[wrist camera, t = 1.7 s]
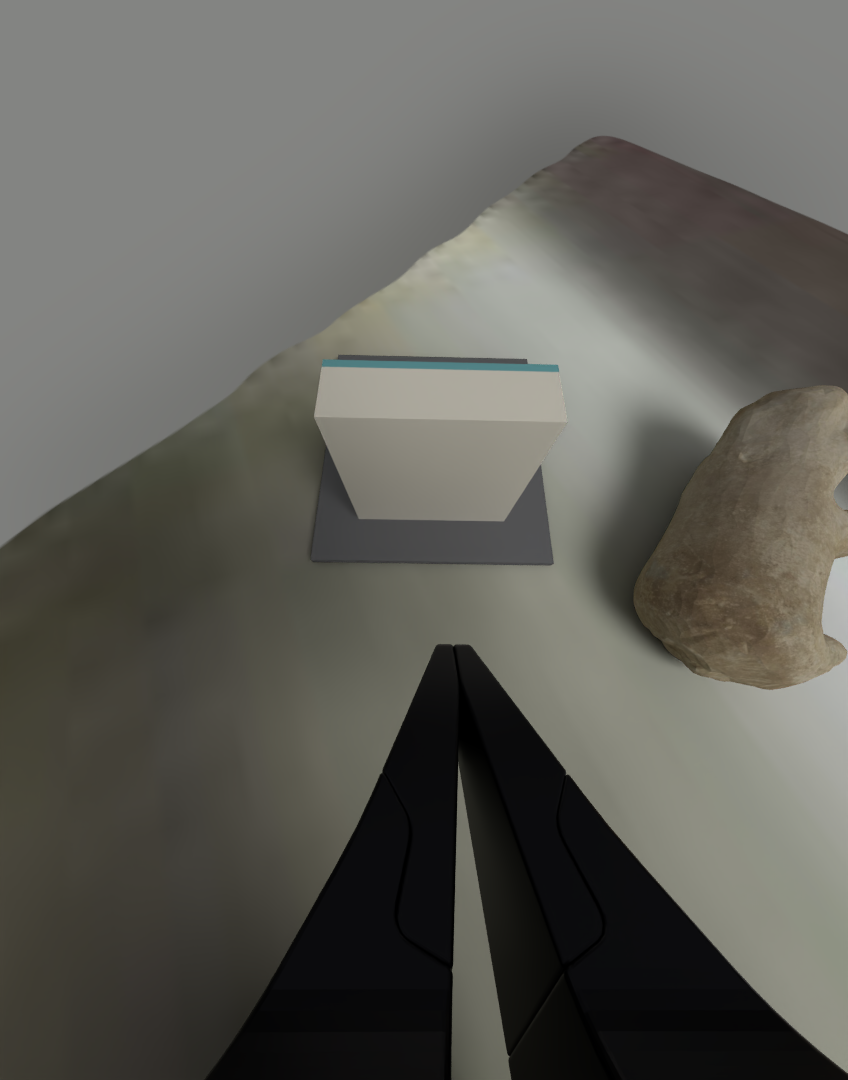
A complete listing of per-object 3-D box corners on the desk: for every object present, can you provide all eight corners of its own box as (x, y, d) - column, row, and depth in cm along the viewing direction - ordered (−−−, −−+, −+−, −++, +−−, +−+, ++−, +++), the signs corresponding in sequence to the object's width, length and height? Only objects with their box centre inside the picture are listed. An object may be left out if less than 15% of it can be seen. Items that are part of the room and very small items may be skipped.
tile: (503, 521, 22) (567, 422, 13) (358, 519, 22) (314, 417, 12) (500, 483, 23) (557, 364, 14) (362, 480, 23) (322, 359, 14)
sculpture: (885, 497, 20) (950, 340, 15) (822, 748, 15) (886, 654, 10) (709, 488, 27) (707, 378, 21) (623, 660, 22) (592, 575, 16)
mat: (550, 565, 22) (553, 563, 21) (313, 561, 21) (310, 559, 21) (525, 364, 28) (526, 359, 27) (339, 360, 27) (338, 354, 27)
